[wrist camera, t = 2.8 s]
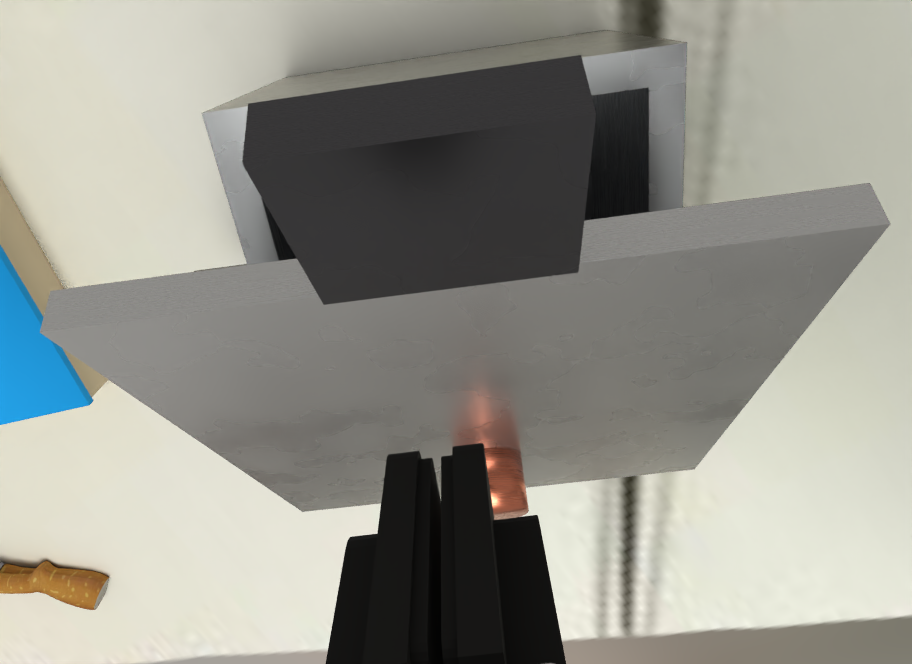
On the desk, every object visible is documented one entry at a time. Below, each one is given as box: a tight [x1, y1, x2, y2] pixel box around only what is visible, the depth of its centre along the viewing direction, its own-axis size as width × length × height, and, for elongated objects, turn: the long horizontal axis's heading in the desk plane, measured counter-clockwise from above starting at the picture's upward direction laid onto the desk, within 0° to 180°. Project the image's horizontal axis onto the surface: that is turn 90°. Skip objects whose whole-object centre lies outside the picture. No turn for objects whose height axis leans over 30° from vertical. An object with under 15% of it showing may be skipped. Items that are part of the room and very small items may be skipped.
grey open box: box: [194, 30, 687, 272], centre depth 30 cm, size 20×16×12 cm
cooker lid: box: [40, 55, 890, 520], centre depth 18 cm, size 17×21×3 cm
